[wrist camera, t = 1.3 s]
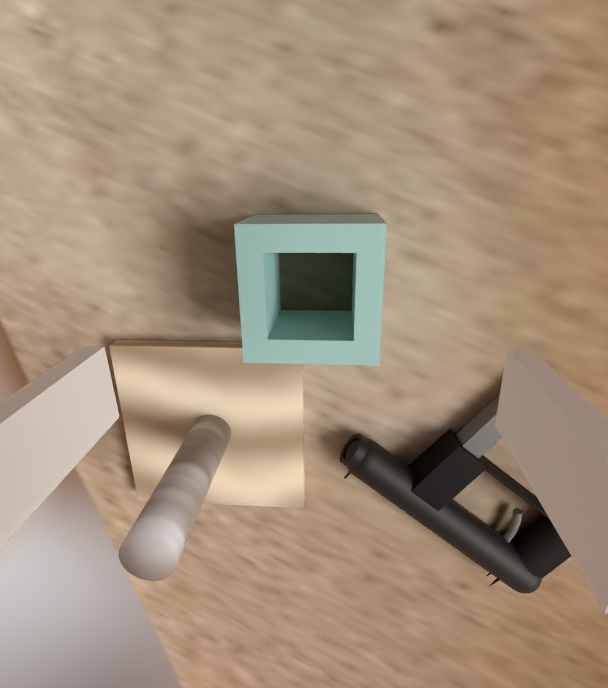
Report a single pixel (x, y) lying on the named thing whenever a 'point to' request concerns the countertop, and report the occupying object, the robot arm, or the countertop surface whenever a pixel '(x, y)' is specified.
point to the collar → (310, 325)
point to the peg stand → (203, 439)
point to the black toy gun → (450, 517)
